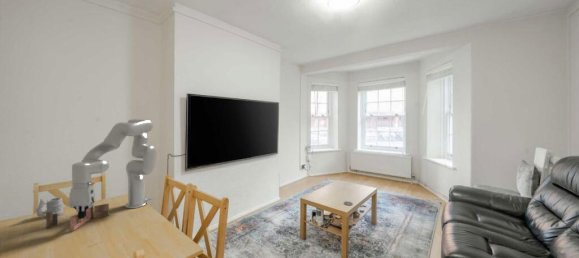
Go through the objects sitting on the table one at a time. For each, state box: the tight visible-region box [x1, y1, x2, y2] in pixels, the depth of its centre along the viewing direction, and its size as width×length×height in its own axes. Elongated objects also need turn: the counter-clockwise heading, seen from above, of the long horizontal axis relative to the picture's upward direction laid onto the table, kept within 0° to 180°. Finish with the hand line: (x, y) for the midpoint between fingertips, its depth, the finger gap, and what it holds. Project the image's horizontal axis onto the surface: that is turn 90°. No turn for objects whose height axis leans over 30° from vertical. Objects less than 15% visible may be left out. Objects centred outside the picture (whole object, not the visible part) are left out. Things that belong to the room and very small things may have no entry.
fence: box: [45, 203, 110, 230], centre depth 131 cm, size 26×4×8 cm, turn 133°
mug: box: [35, 197, 65, 218], centre depth 135 cm, size 8×12×12 cm, turn 162°
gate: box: [70, 207, 92, 231], centre depth 126 cm, size 14×2×7 cm, turn 13°
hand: (82, 217), depth 123 cm, fingers closed
